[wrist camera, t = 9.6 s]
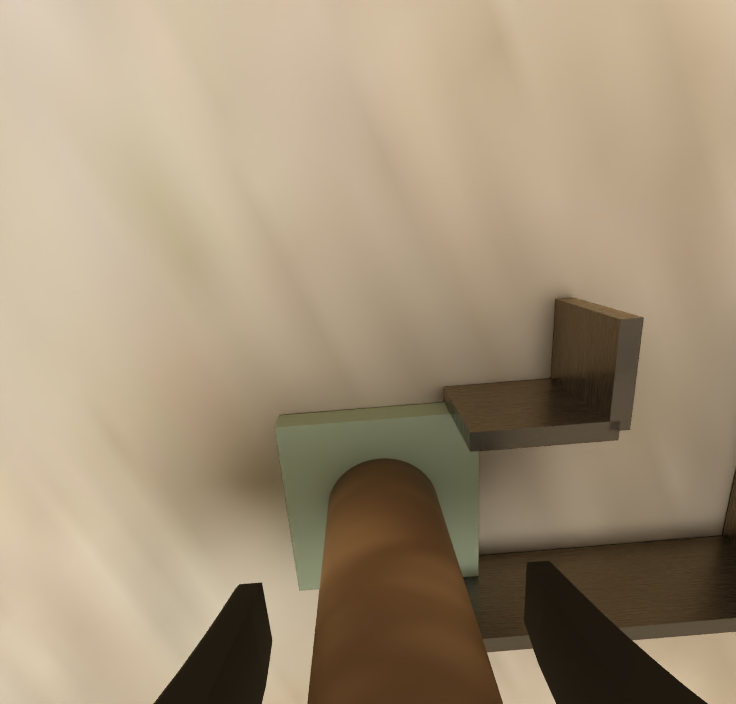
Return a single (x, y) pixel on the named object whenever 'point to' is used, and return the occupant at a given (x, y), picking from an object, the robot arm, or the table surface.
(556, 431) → the walled course
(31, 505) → the table surface
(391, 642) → the peg
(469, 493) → the end pad
